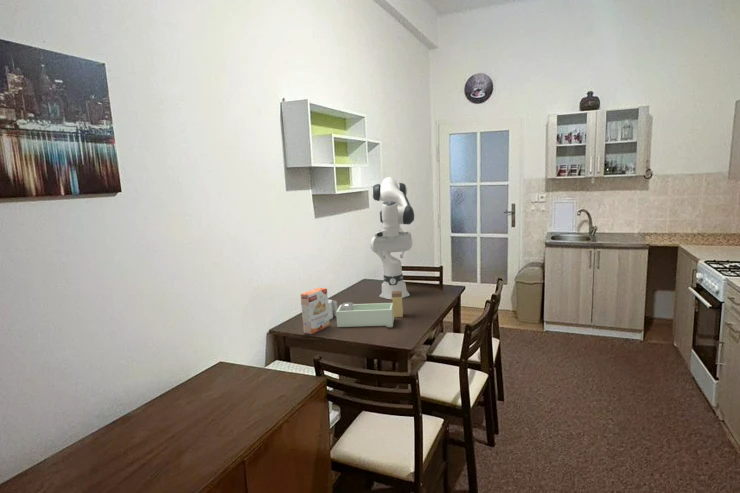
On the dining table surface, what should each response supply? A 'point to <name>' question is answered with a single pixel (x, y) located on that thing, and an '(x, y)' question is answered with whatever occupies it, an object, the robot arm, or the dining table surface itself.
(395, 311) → the oat carton
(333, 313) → the toilet tissue
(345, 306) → the tin can
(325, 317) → the cracker box
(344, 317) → the tote
